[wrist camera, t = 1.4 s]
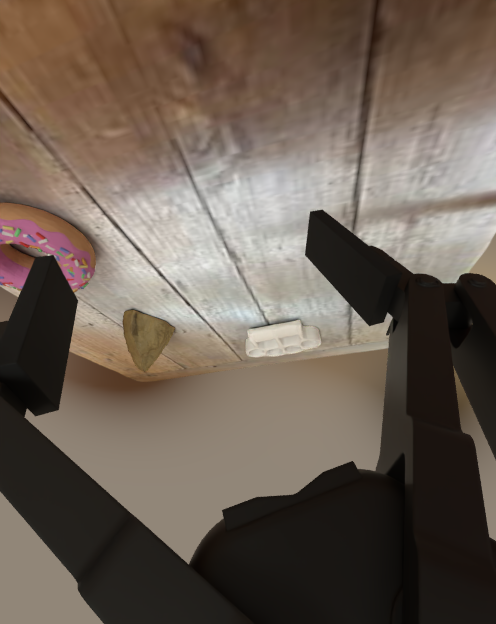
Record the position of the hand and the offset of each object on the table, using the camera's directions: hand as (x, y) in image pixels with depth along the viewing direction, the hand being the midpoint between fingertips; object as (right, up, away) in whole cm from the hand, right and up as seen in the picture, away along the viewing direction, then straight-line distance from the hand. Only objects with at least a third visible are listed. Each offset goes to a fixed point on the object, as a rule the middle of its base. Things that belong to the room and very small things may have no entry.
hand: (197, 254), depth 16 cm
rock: (-17, -4, +44) cm, 48 cm away
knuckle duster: (+10, -8, +54) cm, 56 cm away
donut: (-25, +7, +23) cm, 35 cm away
